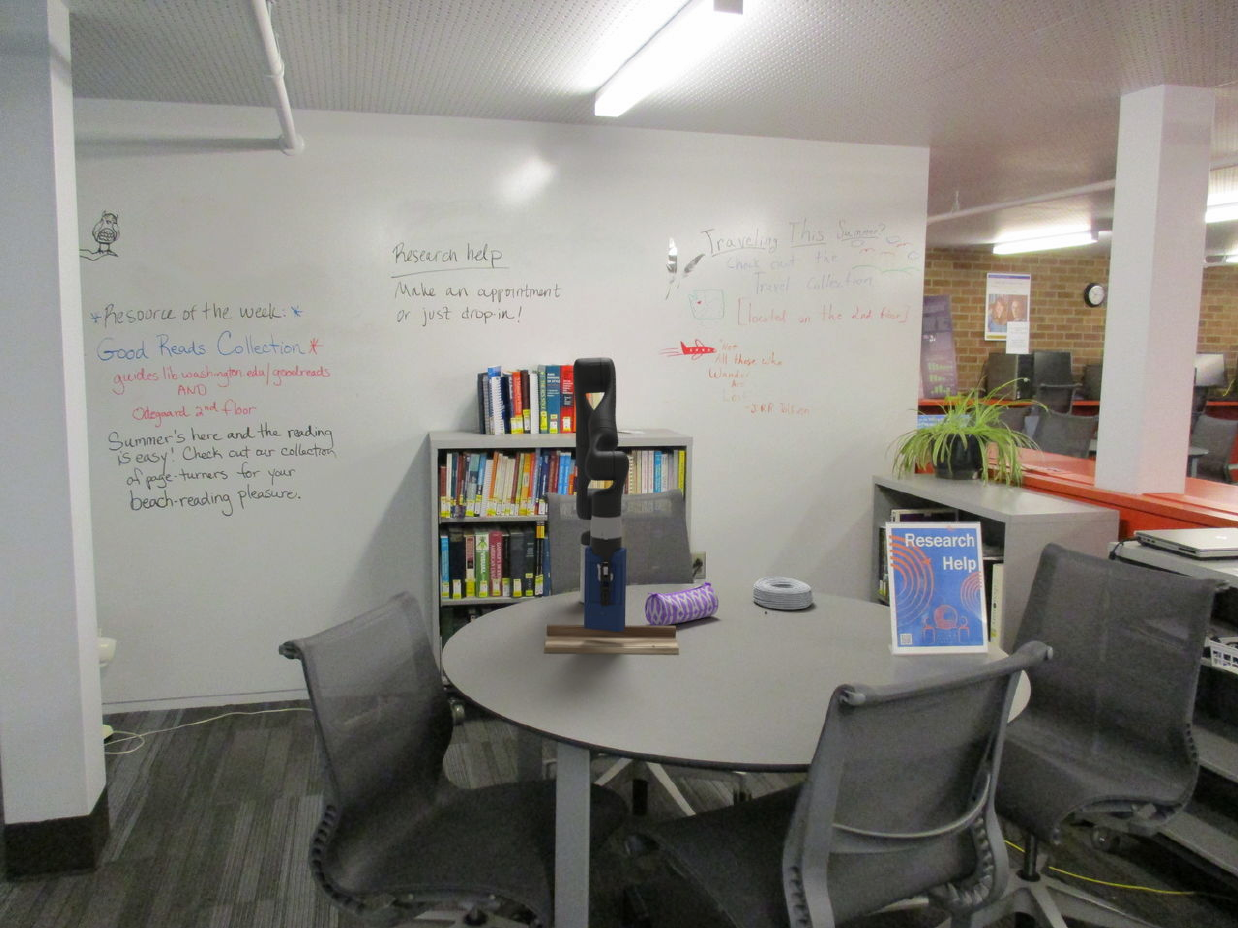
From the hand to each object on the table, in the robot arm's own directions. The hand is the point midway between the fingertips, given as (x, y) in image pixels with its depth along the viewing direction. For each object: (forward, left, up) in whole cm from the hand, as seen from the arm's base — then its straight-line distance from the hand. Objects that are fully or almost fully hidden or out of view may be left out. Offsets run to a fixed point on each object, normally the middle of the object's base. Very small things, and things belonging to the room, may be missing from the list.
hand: (605, 601), depth 212 cm
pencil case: (-23, +21, -12) cm, 34 cm away
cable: (-43, +53, -12) cm, 69 cm away
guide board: (0, +2, -11) cm, 12 cm away
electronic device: (0, 0, -7) cm, 7 cm away
